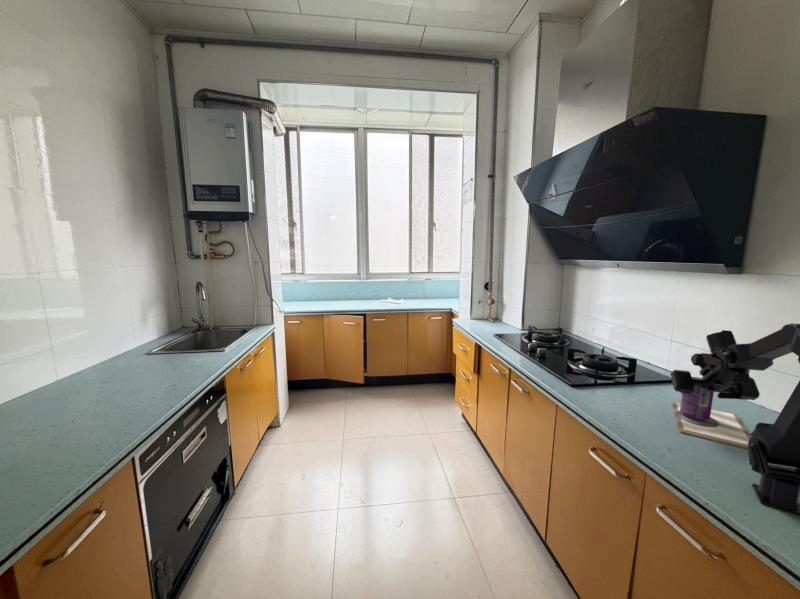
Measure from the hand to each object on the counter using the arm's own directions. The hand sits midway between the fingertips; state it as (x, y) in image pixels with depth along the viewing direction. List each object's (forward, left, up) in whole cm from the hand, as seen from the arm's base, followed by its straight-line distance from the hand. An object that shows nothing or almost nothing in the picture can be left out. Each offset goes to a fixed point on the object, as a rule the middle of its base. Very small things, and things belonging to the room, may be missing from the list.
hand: (699, 394), depth 101 cm
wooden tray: (0, -3, -9) cm, 9 cm away
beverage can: (+1, 0, -8) cm, 8 cm away
